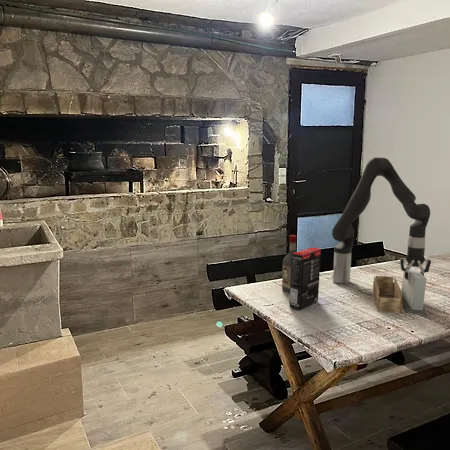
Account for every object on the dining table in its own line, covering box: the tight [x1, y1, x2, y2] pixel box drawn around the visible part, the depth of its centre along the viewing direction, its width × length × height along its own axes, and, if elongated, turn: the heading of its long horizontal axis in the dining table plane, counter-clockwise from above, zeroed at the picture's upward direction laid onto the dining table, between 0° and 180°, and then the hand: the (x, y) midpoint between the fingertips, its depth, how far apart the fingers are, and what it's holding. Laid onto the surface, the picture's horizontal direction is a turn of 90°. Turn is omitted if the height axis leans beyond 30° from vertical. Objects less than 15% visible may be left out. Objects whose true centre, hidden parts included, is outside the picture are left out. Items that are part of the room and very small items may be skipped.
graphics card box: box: [288, 247, 322, 311], centre depth 218 cm, size 17×7×27 cm, turn 139°
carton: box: [372, 275, 403, 314], centre depth 222 cm, size 11×27×10 cm, turn 167°
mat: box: [402, 298, 428, 315], centre depth 220 cm, size 9×25×1 cm, turn 167°
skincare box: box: [400, 265, 427, 311], centre depth 219 cm, size 21×5×16 cm, turn 173°
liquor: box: [281, 234, 297, 294], centre depth 239 cm, size 9×9×30 cm
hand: (413, 279), depth 218 cm, fingers open, 5 cm apart
